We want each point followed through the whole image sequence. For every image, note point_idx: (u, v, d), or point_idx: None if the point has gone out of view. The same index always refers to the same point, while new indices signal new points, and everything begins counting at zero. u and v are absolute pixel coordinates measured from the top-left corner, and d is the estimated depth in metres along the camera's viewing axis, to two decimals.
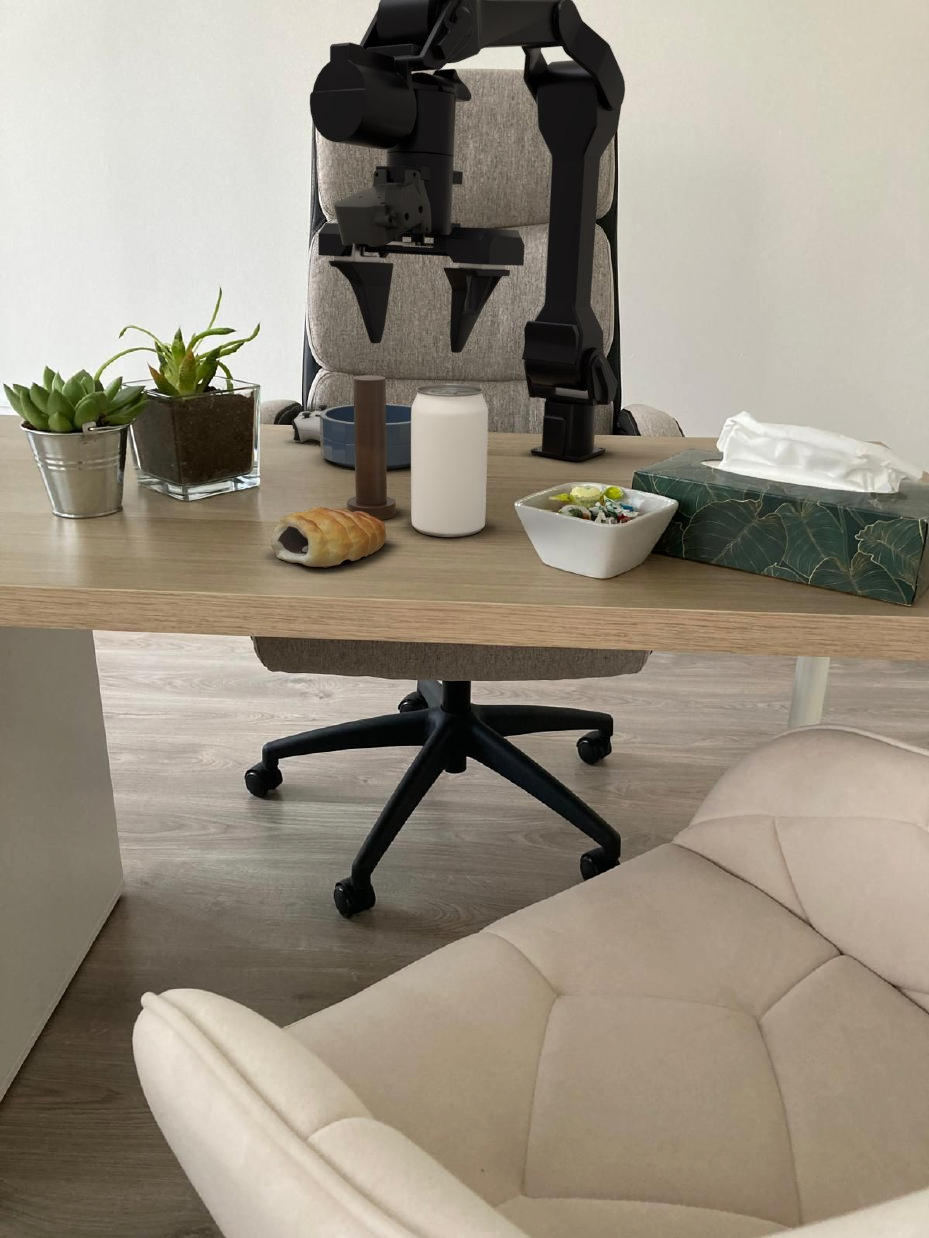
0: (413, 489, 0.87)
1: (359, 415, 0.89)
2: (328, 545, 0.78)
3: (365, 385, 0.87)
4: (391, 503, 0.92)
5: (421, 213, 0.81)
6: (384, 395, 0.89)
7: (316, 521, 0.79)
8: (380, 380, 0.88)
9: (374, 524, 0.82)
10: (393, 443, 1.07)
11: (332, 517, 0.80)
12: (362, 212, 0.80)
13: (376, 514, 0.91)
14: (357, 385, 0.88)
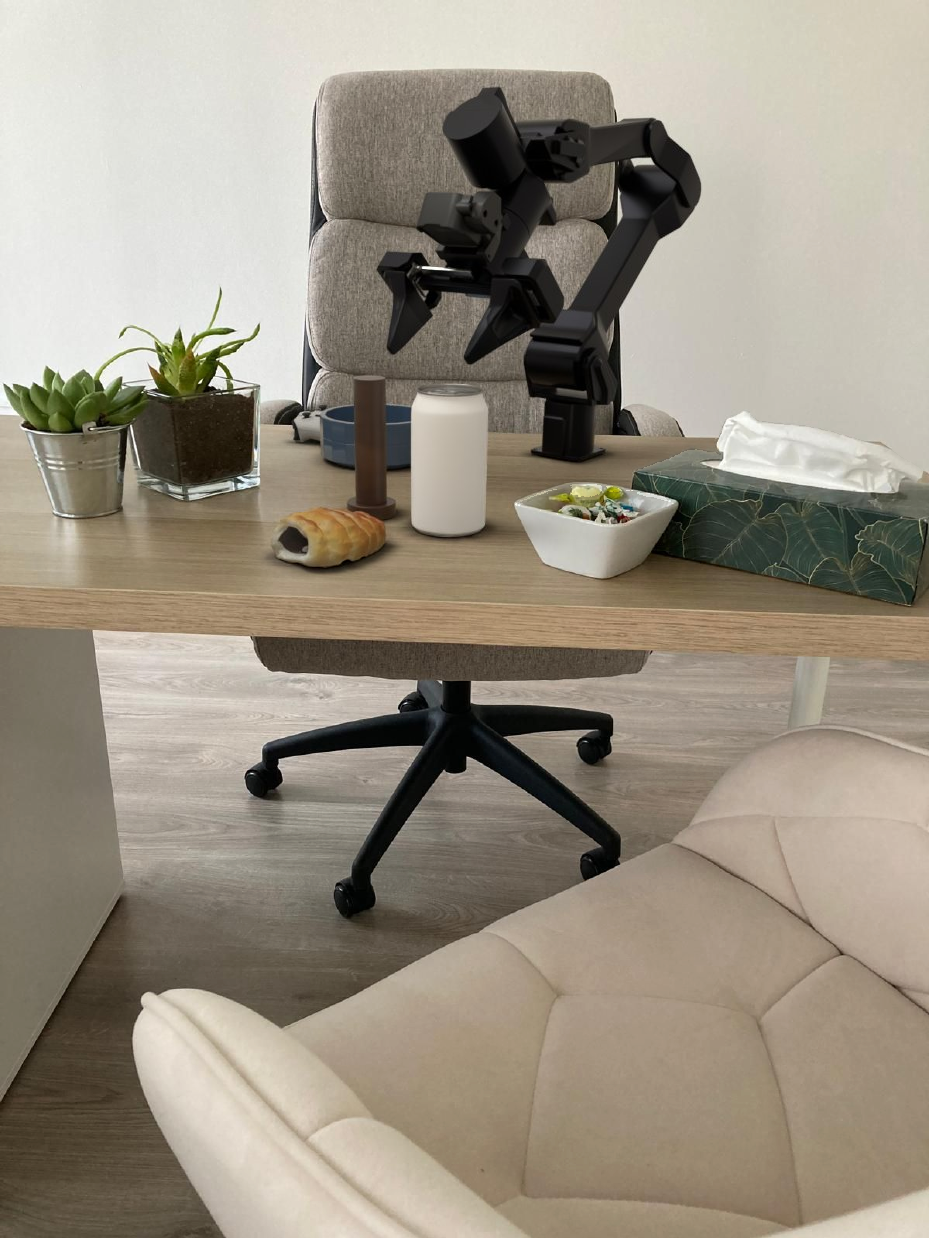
0: (413, 489, 0.87)
1: (359, 415, 0.89)
2: (328, 545, 0.78)
3: (365, 385, 0.87)
4: (391, 503, 0.92)
5: (495, 226, 0.90)
6: (384, 395, 0.89)
7: (316, 521, 0.79)
8: (380, 380, 0.88)
9: (374, 524, 0.82)
10: (393, 443, 1.07)
11: (332, 517, 0.80)
12: (449, 197, 0.89)
13: (376, 514, 0.91)
14: (357, 385, 0.88)
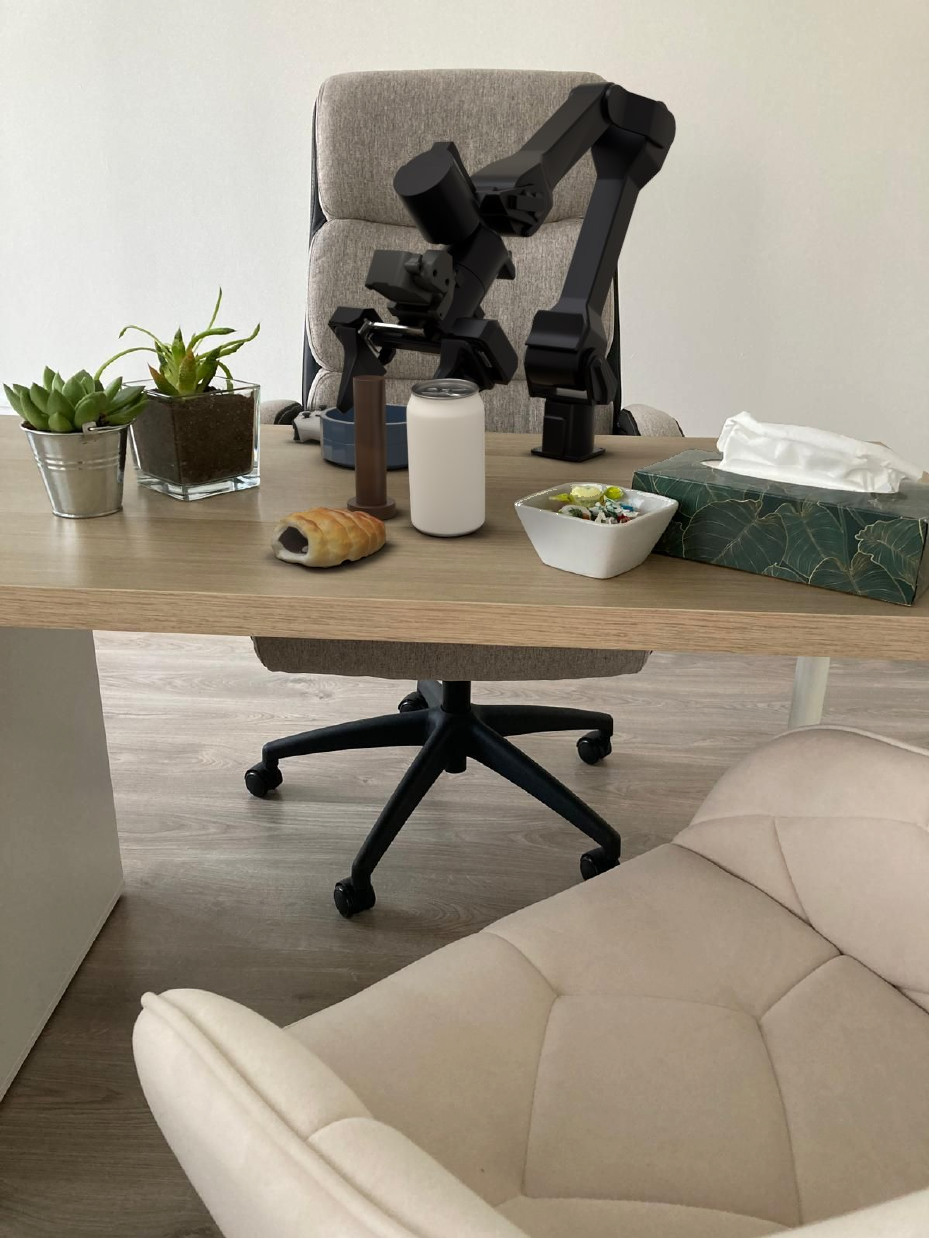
0: (411, 489, 0.87)
1: (359, 415, 0.89)
2: (328, 545, 0.78)
3: (365, 385, 0.87)
4: (391, 503, 0.92)
5: (446, 285, 0.87)
6: (384, 395, 0.89)
7: (316, 521, 0.79)
8: (380, 380, 0.88)
9: (374, 524, 0.82)
10: (393, 443, 1.07)
11: (332, 517, 0.80)
12: (398, 255, 0.86)
13: (376, 514, 0.91)
14: (357, 385, 0.88)
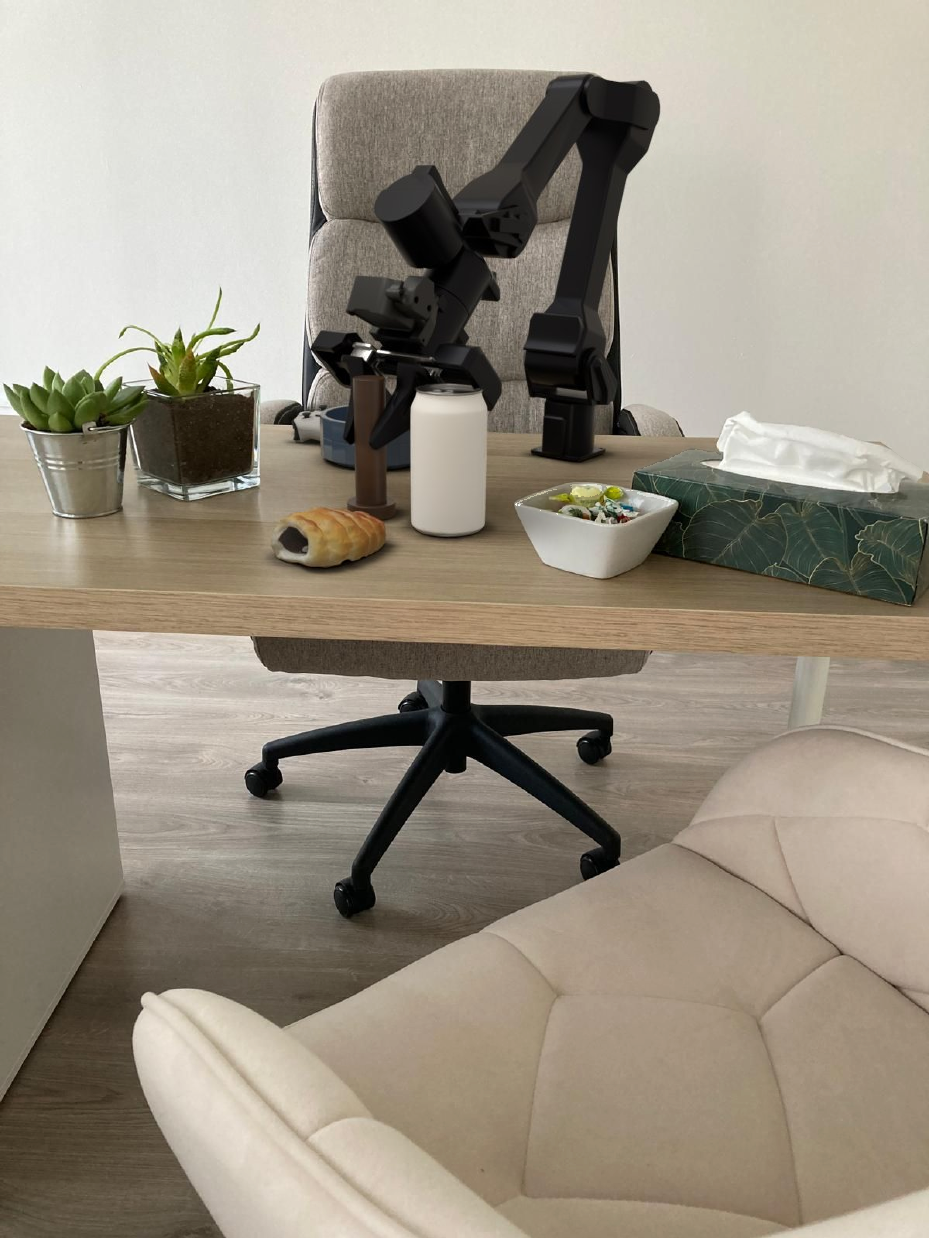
0: (412, 489, 0.87)
1: (359, 415, 0.89)
2: (328, 545, 0.78)
3: (365, 385, 0.87)
4: (391, 503, 0.92)
5: (428, 311, 0.86)
6: (384, 395, 0.89)
7: (316, 521, 0.79)
8: (380, 380, 0.88)
9: (374, 524, 0.82)
10: (393, 443, 1.07)
11: (332, 517, 0.80)
12: (379, 281, 0.85)
13: (376, 514, 0.91)
14: (356, 385, 0.88)
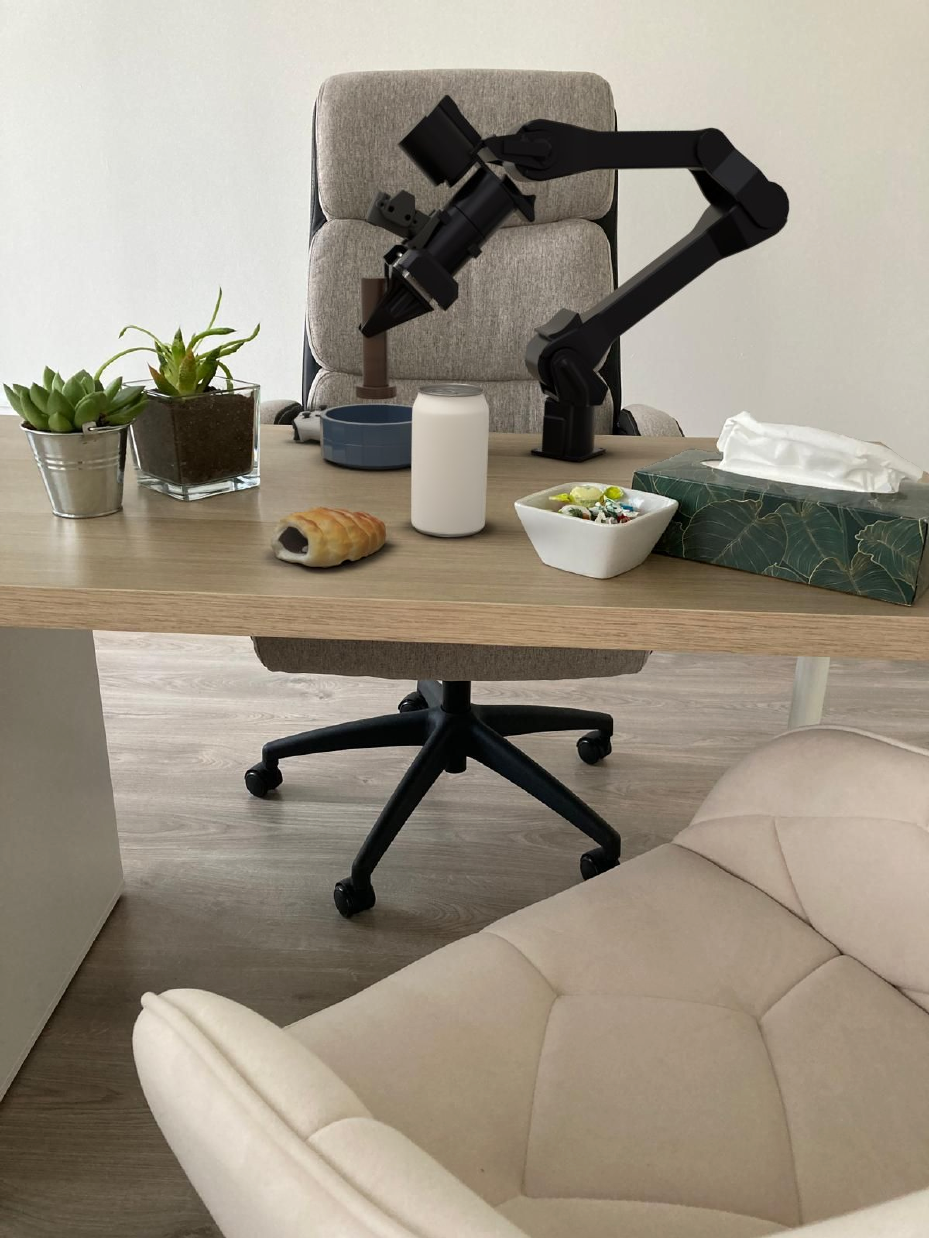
0: (413, 489, 0.87)
1: (361, 308, 1.07)
2: (328, 545, 0.78)
3: (362, 282, 1.06)
4: (383, 387, 1.09)
5: (406, 220, 1.01)
6: (380, 292, 1.06)
7: (316, 521, 0.79)
8: (374, 279, 1.05)
9: (374, 524, 0.82)
10: (393, 443, 1.07)
11: (332, 517, 0.80)
12: (377, 194, 1.02)
13: (366, 393, 1.09)
14: None
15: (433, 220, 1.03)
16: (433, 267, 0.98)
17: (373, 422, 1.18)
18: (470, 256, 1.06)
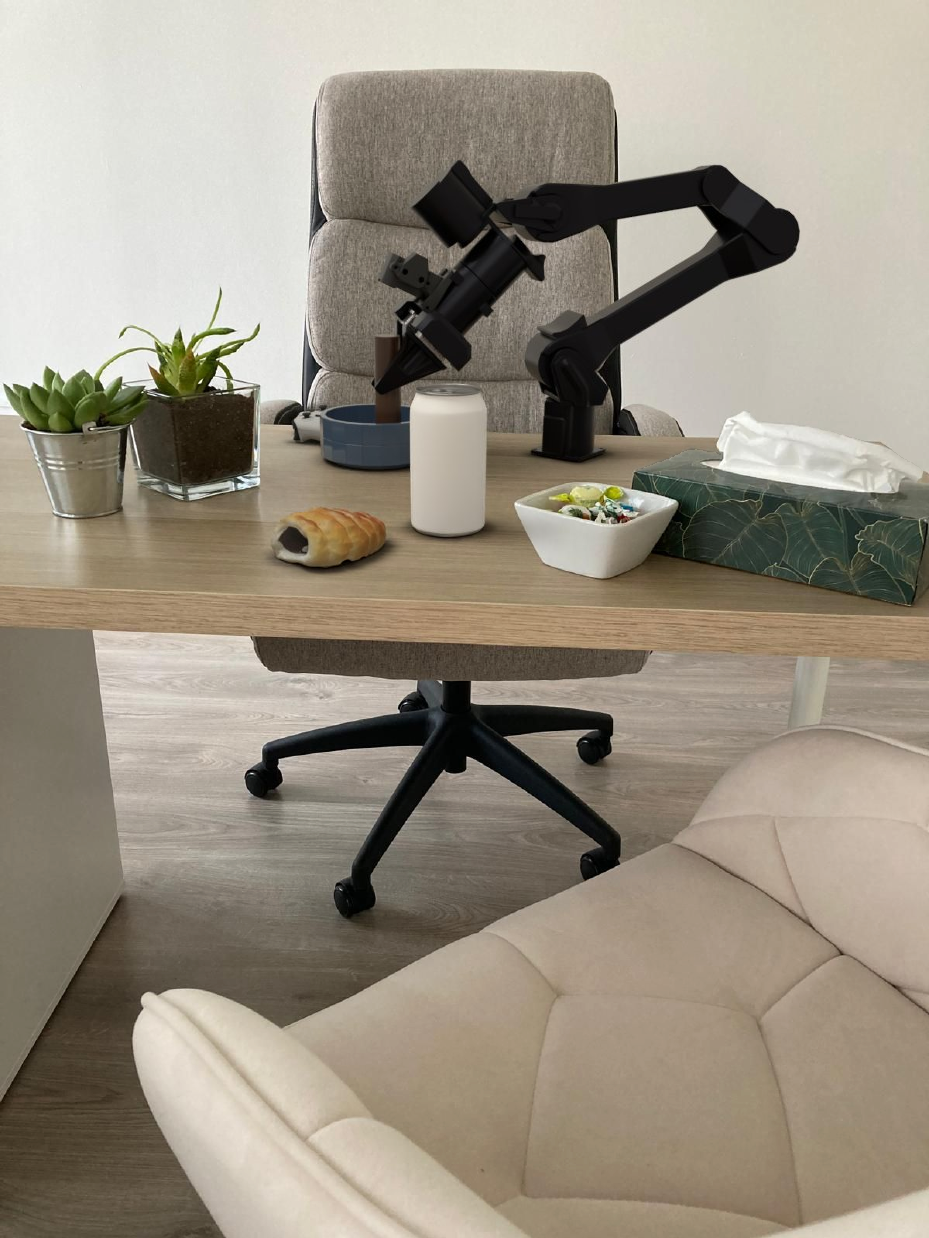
0: (412, 489, 0.87)
1: (375, 365, 1.09)
2: (328, 545, 0.78)
3: (376, 340, 1.08)
4: None
5: (420, 282, 1.03)
6: (393, 350, 1.08)
7: (316, 521, 0.79)
8: (388, 337, 1.07)
9: (374, 524, 0.82)
10: (393, 443, 1.07)
11: (332, 517, 0.80)
12: (390, 256, 1.05)
13: None
14: (374, 340, 1.09)
15: (446, 281, 1.05)
16: (447, 330, 1.00)
17: (373, 422, 1.18)
18: (481, 314, 1.08)
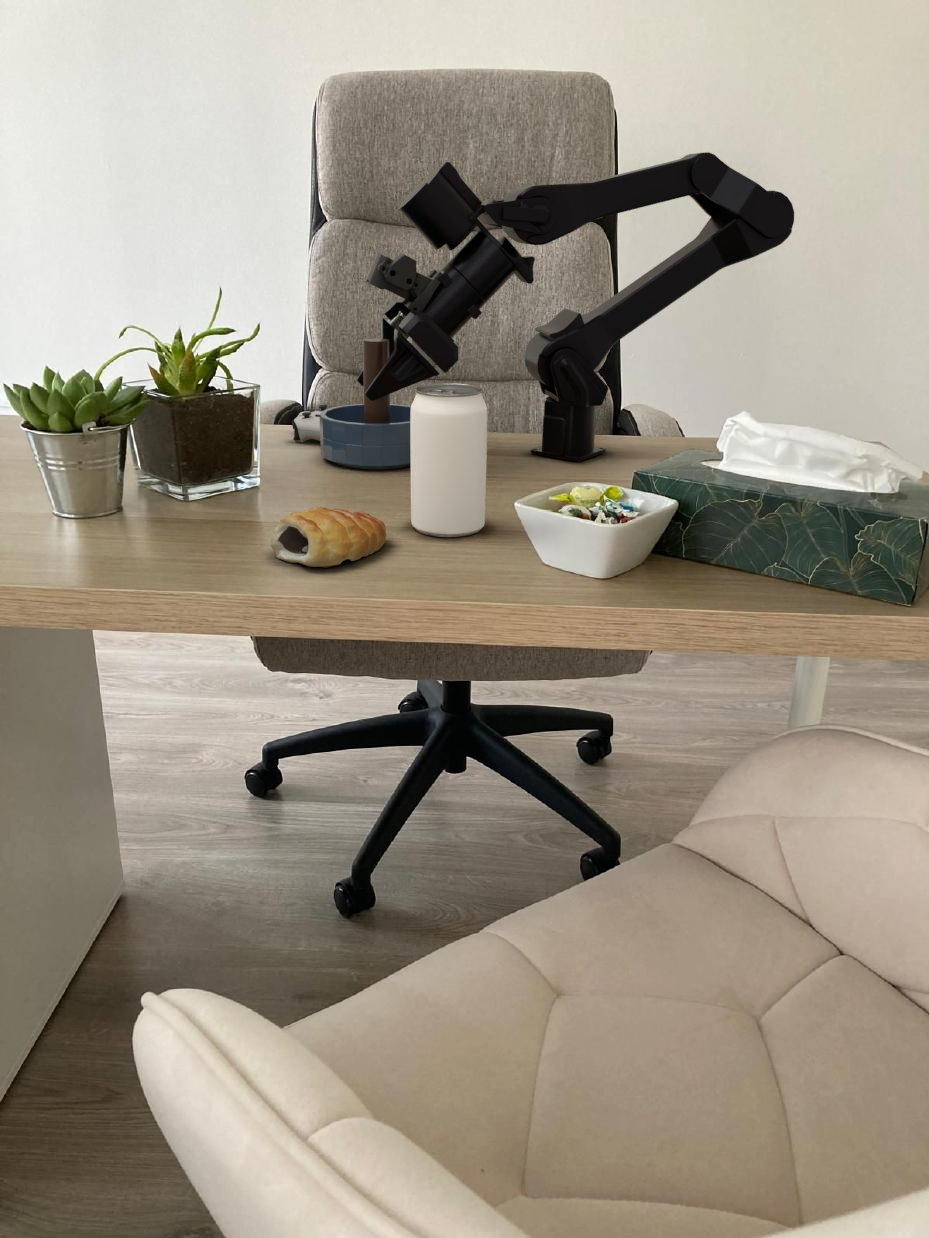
0: (412, 489, 0.87)
1: (363, 369, 1.10)
2: (328, 545, 0.78)
3: (365, 345, 1.08)
4: None
5: (408, 284, 1.03)
6: (382, 355, 1.08)
7: (316, 521, 0.79)
8: (376, 342, 1.08)
9: (374, 524, 0.82)
10: (393, 443, 1.07)
11: (332, 517, 0.80)
12: (379, 258, 1.05)
13: None
14: None
15: (434, 283, 1.05)
16: (433, 331, 1.00)
17: None
18: (470, 316, 1.08)
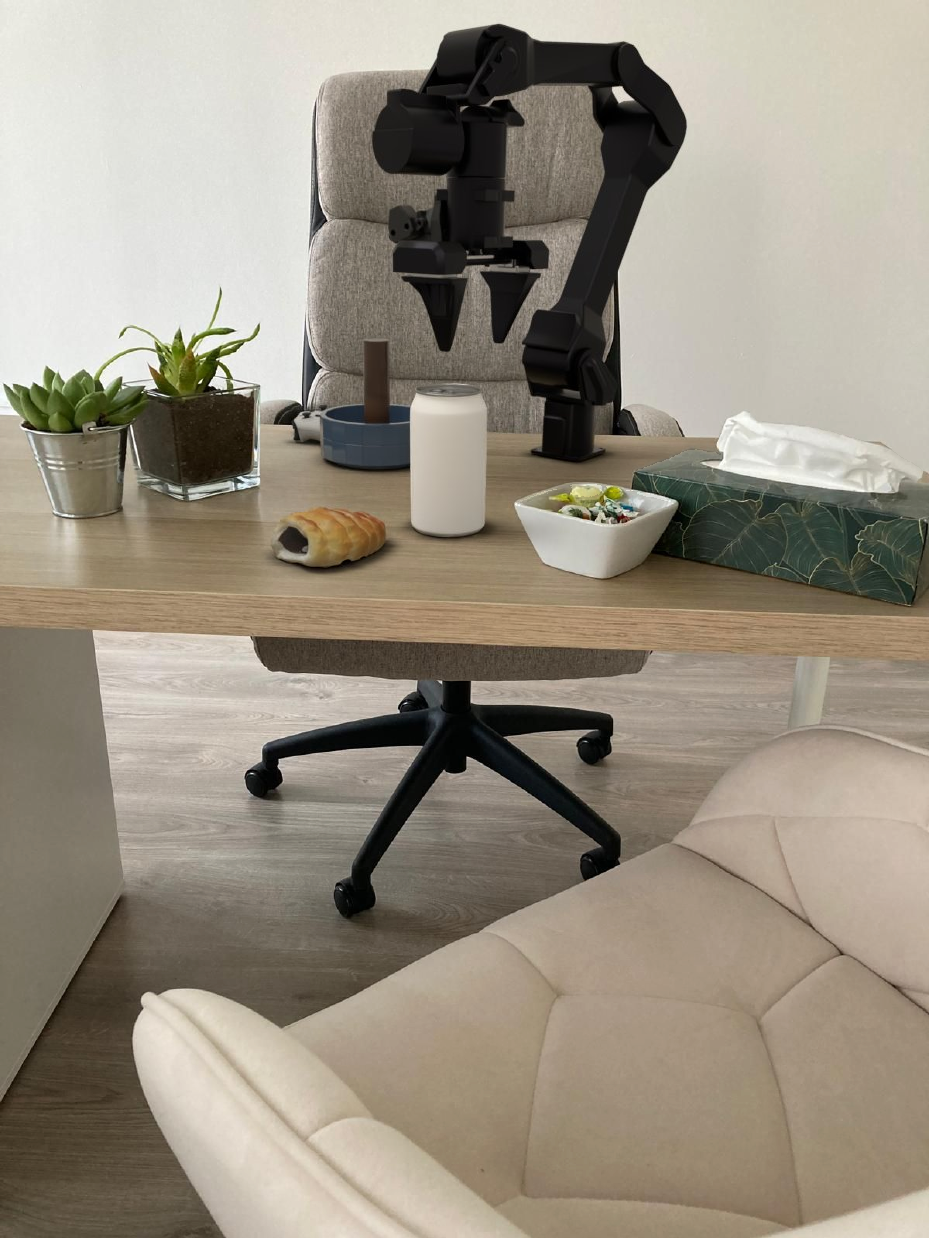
0: (411, 489, 0.87)
1: (363, 369, 1.10)
2: (328, 545, 0.78)
3: (365, 345, 1.08)
4: None
5: (407, 229, 0.98)
6: (382, 355, 1.08)
7: (316, 521, 0.79)
8: (376, 342, 1.08)
9: (374, 524, 0.82)
10: (393, 443, 1.07)
11: (332, 517, 0.80)
12: None
13: None
14: None
15: (435, 206, 0.98)
16: (408, 249, 0.93)
17: None
18: (487, 202, 0.96)
